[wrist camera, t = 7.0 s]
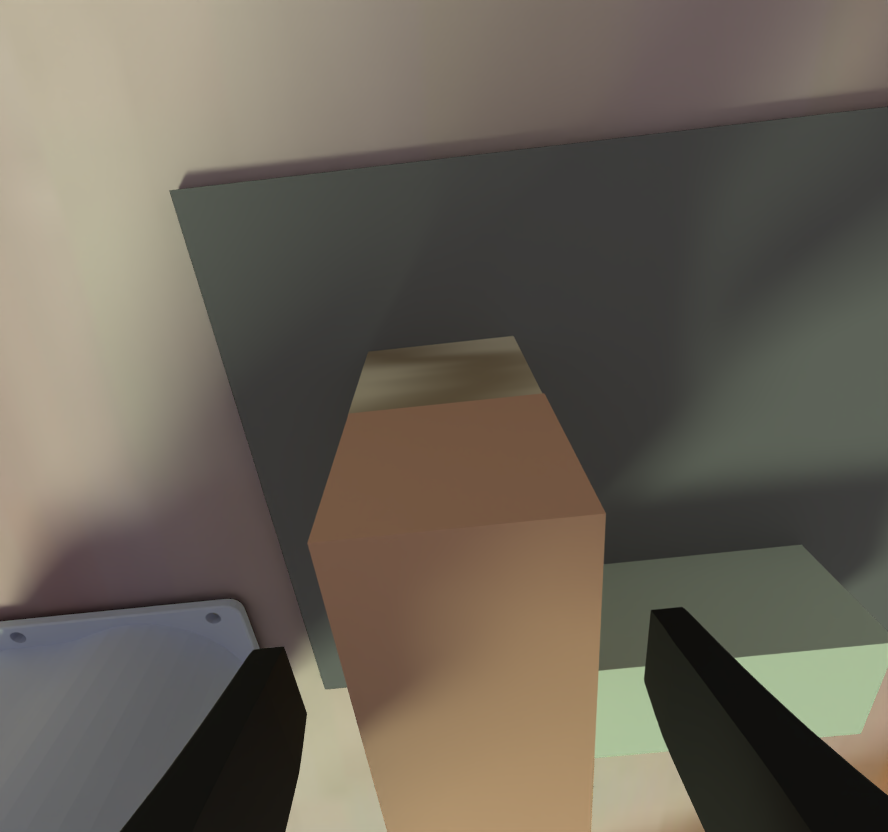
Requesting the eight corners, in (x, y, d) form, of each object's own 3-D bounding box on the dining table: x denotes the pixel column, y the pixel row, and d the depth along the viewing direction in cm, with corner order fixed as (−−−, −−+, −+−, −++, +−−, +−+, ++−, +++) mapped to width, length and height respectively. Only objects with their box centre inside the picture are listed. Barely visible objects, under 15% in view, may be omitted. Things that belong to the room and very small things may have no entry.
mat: (326, 680, 20) (324, 689, 20) (176, 189, 13) (169, 190, 12) (989, 616, 20) (999, 624, 20) (1268, 62, 12) (1293, 59, 12)
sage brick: (541, 650, 19) (566, 760, 16) (538, 570, 18) (567, 673, 14) (779, 627, 19) (860, 733, 16) (801, 544, 18) (898, 641, 14)
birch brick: (411, 594, 18) (407, 700, 14) (367, 351, 14) (347, 415, 10) (524, 583, 18) (549, 687, 14) (513, 335, 14) (543, 394, 10)
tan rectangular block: (407, 700, 14) (399, 877, 11) (348, 413, 10) (307, 542, 7) (549, 687, 14) (589, 861, 11) (544, 393, 10) (605, 513, 7)
